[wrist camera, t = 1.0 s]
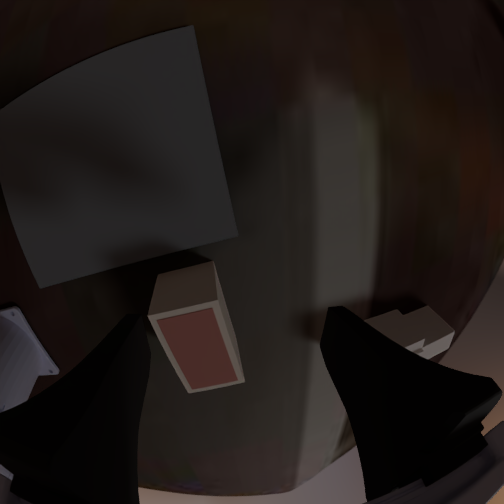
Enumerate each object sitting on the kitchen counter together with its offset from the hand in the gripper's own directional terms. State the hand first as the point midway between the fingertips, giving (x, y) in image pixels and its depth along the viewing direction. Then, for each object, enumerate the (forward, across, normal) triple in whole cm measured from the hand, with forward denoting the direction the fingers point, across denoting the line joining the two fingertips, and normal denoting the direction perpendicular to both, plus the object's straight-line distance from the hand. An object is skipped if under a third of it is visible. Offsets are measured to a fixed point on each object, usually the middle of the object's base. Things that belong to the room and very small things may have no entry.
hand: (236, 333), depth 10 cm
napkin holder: (+10, -16, +10) cm, 21 cm away
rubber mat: (+9, +9, -6) cm, 14 cm away
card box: (+9, +2, +5) cm, 11 cm away
